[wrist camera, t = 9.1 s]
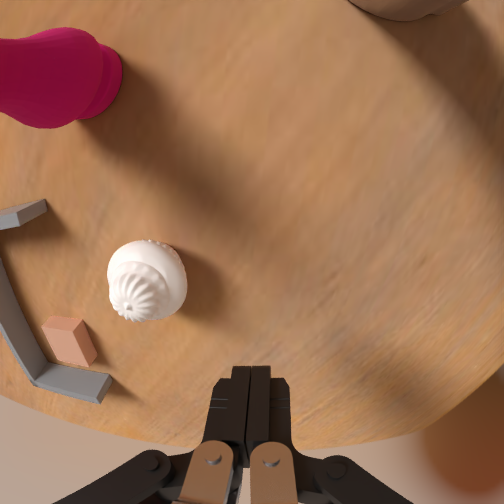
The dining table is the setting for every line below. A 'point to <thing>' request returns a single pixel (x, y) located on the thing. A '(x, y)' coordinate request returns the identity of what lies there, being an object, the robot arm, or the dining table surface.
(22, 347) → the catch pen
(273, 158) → the dining table surface
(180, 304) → the white rounded ceramic piece
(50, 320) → the block
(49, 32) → the pepper mill
